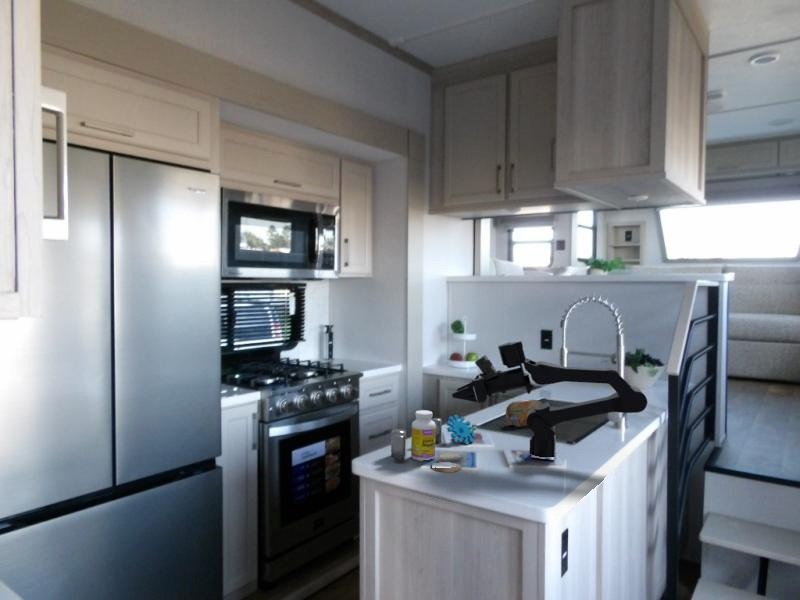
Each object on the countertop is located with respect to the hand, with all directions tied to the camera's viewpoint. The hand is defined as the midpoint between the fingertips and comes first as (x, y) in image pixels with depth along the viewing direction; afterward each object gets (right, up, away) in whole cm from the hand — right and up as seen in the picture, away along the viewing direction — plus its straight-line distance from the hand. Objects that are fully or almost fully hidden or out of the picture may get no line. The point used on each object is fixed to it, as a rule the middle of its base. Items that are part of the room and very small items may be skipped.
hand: (454, 393), depth 166 cm
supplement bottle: (-10, -17, -8) cm, 21 cm away
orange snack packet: (+27, -16, +30) cm, 43 cm away
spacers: (-12, -16, -1) cm, 20 cm away
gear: (+3, -16, +9) cm, 19 cm away
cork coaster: (-4, -17, -15) cm, 23 cm away
